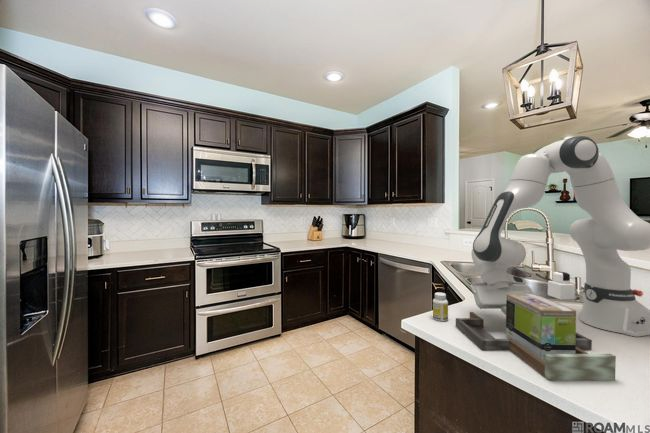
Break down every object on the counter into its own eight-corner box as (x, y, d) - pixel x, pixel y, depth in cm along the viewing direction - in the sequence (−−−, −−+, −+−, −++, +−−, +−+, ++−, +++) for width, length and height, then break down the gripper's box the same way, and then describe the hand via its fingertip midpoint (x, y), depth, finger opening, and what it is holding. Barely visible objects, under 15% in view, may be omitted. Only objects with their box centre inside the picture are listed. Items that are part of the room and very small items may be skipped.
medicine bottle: (561, 294, 130) (561, 270, 130) (575, 299, 123) (575, 274, 123) (547, 295, 130) (547, 270, 129) (560, 299, 123) (561, 274, 122)
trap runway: (533, 319, 101) (533, 303, 101) (648, 380, 65) (649, 356, 65) (448, 319, 102) (448, 304, 101) (515, 380, 65) (515, 356, 65)
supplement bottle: (446, 316, 105) (446, 292, 104) (449, 322, 99) (449, 296, 99) (432, 315, 106) (432, 291, 106) (433, 320, 101) (433, 295, 101)
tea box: (577, 363, 73) (578, 310, 72) (540, 363, 73) (540, 310, 73) (535, 336, 88) (535, 292, 87) (504, 336, 88) (504, 292, 88)
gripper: (472, 278, 95) (488, 316, 86) (529, 278, 95) (551, 316, 86) (465, 287, 100) (480, 323, 91) (519, 287, 100) (540, 323, 90)
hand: (515, 320), depth 88 cm, fingers closed, pressing on tea box
